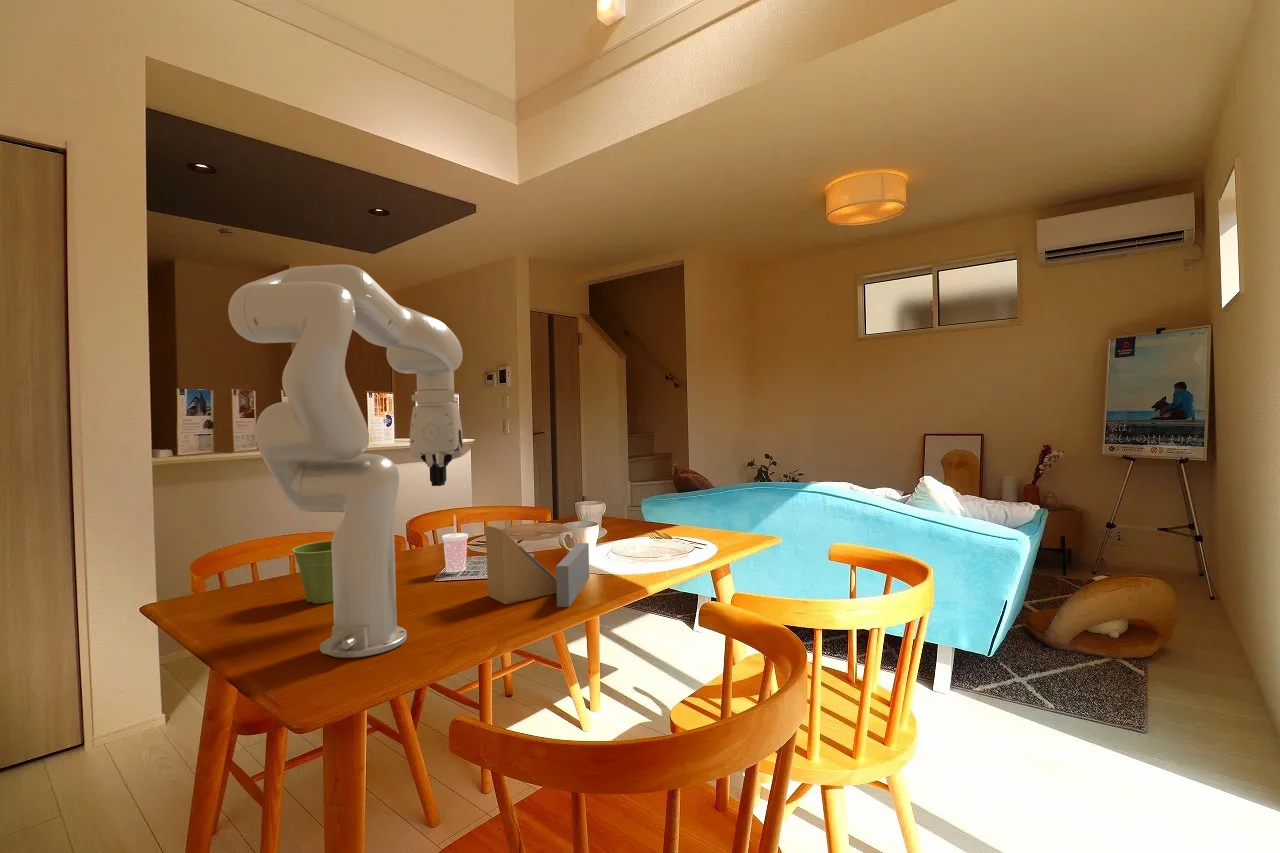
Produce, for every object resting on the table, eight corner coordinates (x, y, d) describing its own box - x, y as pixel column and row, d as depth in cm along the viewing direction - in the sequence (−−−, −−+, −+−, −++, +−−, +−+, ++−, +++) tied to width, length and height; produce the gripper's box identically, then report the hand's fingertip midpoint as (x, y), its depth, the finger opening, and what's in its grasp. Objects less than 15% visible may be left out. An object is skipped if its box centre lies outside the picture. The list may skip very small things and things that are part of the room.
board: (569, 607, 122) (568, 566, 121) (557, 607, 122) (556, 566, 122) (589, 577, 143) (588, 543, 143) (579, 577, 144) (578, 543, 144)
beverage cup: (441, 570, 153) (439, 514, 153) (466, 567, 156) (465, 511, 156) (444, 576, 148) (443, 517, 147) (471, 573, 150) (469, 515, 150)
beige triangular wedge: (571, 590, 134) (569, 521, 133) (505, 605, 124) (503, 530, 124) (551, 582, 140) (549, 516, 140) (487, 596, 131) (485, 524, 131)
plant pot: (287, 599, 131) (285, 546, 131) (346, 588, 139) (345, 538, 139) (301, 612, 122) (299, 554, 122) (364, 599, 130) (362, 545, 130)
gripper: (393, 399, 130) (396, 487, 130) (463, 398, 128) (465, 487, 129) (410, 400, 137) (412, 484, 137) (476, 399, 136) (478, 483, 136)
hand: (438, 485), depth 133 cm, fingers closed
